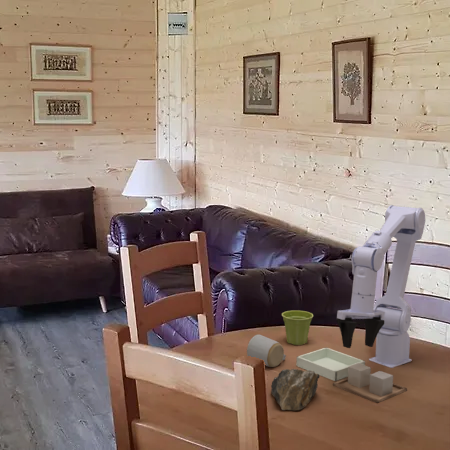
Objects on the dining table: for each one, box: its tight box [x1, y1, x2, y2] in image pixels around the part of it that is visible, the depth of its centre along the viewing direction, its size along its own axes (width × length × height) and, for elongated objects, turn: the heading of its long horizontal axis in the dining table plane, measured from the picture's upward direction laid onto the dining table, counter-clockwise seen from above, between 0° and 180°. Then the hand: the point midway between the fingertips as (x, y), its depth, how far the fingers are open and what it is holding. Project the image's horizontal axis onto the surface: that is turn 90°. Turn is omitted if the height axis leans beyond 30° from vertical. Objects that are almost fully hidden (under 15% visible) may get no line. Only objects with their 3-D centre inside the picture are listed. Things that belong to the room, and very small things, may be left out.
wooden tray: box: [332, 377, 408, 404], centre depth 179 cm, size 12×14×1 cm
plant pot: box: [281, 310, 314, 346], centre depth 214 cm, size 9×9×9 cm
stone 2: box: [369, 370, 394, 397], centre depth 176 cm, size 4×4×4 cm
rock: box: [270, 368, 320, 411], centre depth 172 cm, size 14×11×10 cm
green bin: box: [295, 347, 366, 382], centre depth 192 cm, size 12×14×3 cm
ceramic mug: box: [246, 334, 287, 368], centre depth 197 cm, size 11×8×8 cm
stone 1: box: [347, 363, 372, 388], centre depth 181 cm, size 4×4×4 cm
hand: (357, 346), depth 180 cm, fingers open, 7 cm apart
